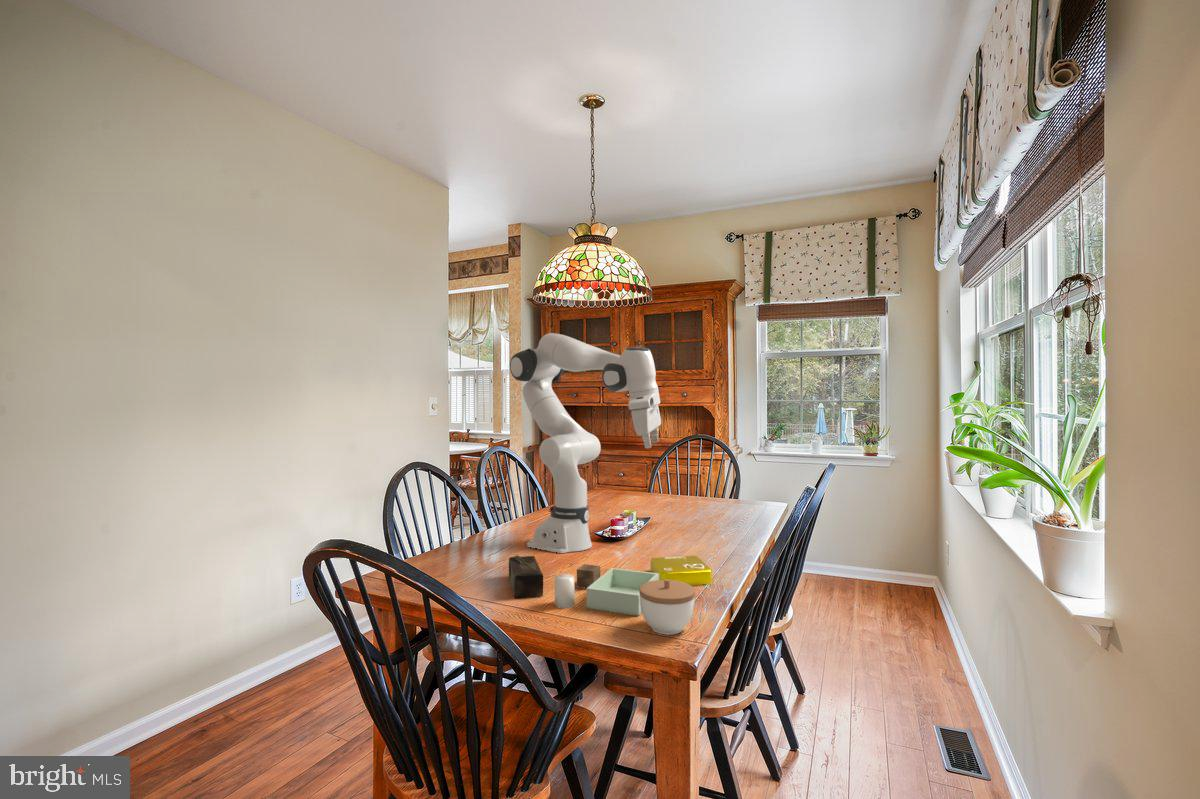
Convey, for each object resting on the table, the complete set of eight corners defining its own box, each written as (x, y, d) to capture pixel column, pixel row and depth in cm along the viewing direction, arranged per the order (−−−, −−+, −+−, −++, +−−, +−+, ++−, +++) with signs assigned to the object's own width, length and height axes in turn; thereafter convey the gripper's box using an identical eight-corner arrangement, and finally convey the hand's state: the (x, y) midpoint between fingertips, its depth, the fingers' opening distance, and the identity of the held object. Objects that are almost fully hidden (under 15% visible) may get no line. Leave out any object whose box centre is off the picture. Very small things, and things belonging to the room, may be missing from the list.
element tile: (697, 569, 177) (696, 553, 177) (714, 585, 162) (714, 568, 162) (648, 571, 175) (648, 556, 175) (661, 588, 160) (661, 571, 160)
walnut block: (576, 587, 161) (576, 569, 160) (584, 581, 165) (583, 564, 165) (593, 589, 159) (593, 571, 159) (600, 583, 163) (600, 566, 163)
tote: (586, 608, 145) (586, 588, 145) (611, 585, 161) (611, 567, 161) (638, 616, 140) (638, 595, 140) (659, 592, 156) (659, 573, 156)
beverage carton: (535, 575, 172) (535, 552, 172) (544, 598, 153) (544, 573, 153) (508, 577, 170) (508, 554, 170) (513, 600, 151) (513, 575, 151)
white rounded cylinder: (551, 606, 146) (551, 579, 146) (560, 599, 151) (559, 573, 151) (569, 609, 144) (569, 581, 144) (577, 602, 149) (577, 575, 149)
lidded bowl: (705, 627, 133) (705, 579, 133) (674, 645, 124) (674, 594, 124) (660, 613, 142) (660, 568, 142) (628, 629, 132) (628, 581, 132)
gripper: (642, 398, 186) (649, 440, 186) (626, 404, 166) (633, 452, 167) (662, 395, 184) (668, 438, 184) (647, 402, 164) (655, 450, 165)
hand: (652, 445), depth 175 cm, fingers open, 8 cm apart
